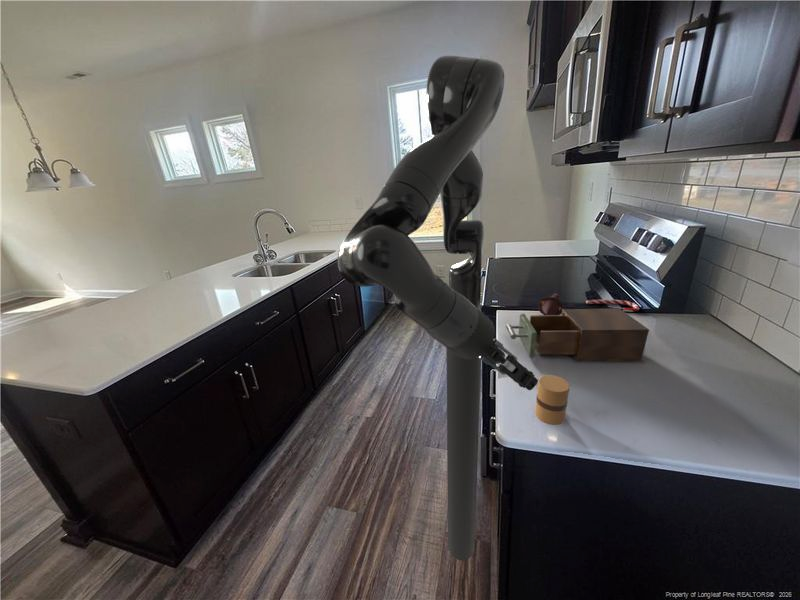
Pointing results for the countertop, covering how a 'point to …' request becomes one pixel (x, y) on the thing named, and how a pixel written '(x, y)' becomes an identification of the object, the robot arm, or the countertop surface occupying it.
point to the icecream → (550, 305)
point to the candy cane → (616, 303)
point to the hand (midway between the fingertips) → (515, 370)
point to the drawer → (546, 334)
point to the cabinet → (607, 335)
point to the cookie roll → (552, 399)
